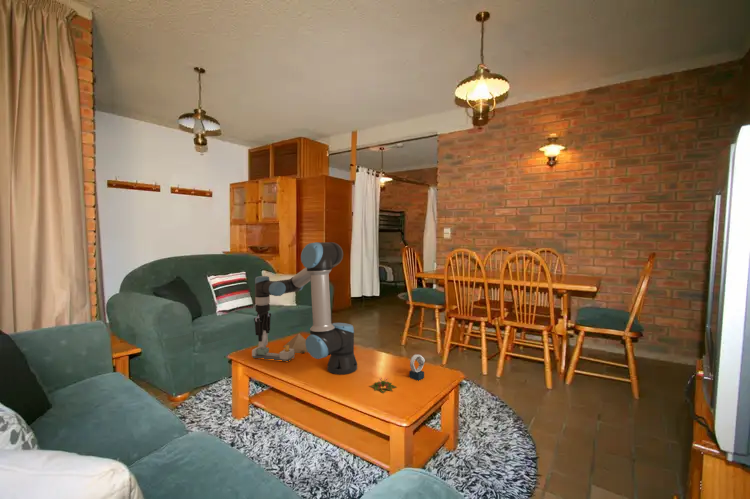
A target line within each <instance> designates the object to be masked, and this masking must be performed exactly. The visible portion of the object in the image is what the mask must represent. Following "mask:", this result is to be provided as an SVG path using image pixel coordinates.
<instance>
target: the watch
mask: <svg viewBox="0 0 750 499" xmlns="http://www.w3.org/2000/svg"><path fill="white" fill-rule="evenodd" d="M415 361H416V362H417V363H418V367H417V368H416V365H415ZM425 361H426V360H425V358H424V357H423V356H422V355H421V354H417V353H415V354H413V355H412V356H411V358H410V361H409V367H410V370H409V374H408V375H409V377H410V378H409V379H413V380H415V381H417V380H418V382H420V381H421V379H422V380H424V379H425V371H423V370H422V369H423V367H424V365H425ZM423 378H424V379H423ZM419 380H420V381H419Z"/></svg>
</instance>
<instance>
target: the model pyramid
mask: <svg viewBox="0 0 750 499" xmlns="http://www.w3.org/2000/svg"><path fill="white" fill-rule="evenodd" d="M305 342H306V338H305V337H304V336H303V335H302V334H301V333H297V334H296V335H295V336H294V337H292V338H291V339H290V340H289V341H288V342H287V343H286V344H285V345H289V349H294V355H296V354H295V353H300V354H301V353H302V354H306V353H308V351H307V349H306V344H305ZM285 345H283V346H282V348H283V347H284V348H285ZM284 348H283V349H284ZM305 352H306V353H305Z"/></svg>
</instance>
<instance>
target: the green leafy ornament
mask: <svg viewBox="0 0 750 499" xmlns="http://www.w3.org/2000/svg"><path fill="white" fill-rule="evenodd" d="M387 380H388V378H387V377H384V380H383V378H382V377H380V379H379V380H378V381H377V382H374V384H372V385H370V386H369V387H370V388H373V389H374V390H373V392H375V391H377V390H379V391H380V392H381V393H382V394H384V393H385V392H387V391H391V392H393V389H394V388H397V386H395V385H392V383H393V382H390V381H387ZM383 389H384V390H383Z"/></svg>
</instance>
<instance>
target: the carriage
mask: <svg viewBox="0 0 750 499" xmlns="http://www.w3.org/2000/svg"><path fill="white" fill-rule="evenodd" d="M263 335H264V347H260V349H258V350H257V352H258V355H265V353H270V347H268V346H267V345H266V330H263Z"/></svg>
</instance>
